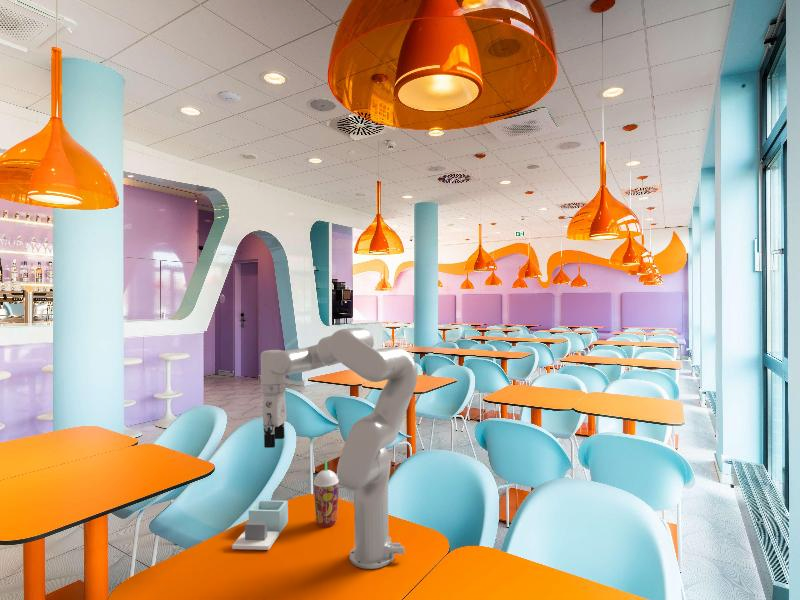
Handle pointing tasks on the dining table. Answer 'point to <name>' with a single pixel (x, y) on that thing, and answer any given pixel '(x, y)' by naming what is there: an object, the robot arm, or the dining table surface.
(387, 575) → the dining table surface
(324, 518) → the smoothie
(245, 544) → the lid
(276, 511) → the tub
